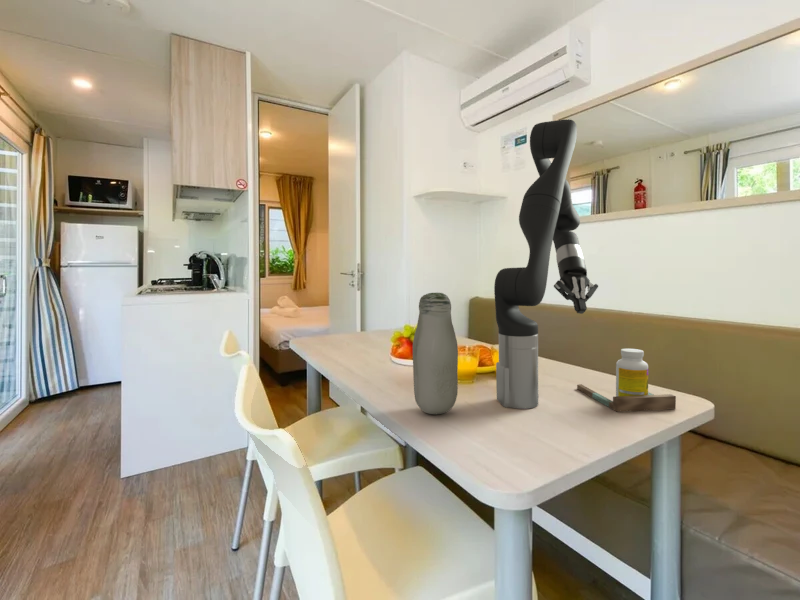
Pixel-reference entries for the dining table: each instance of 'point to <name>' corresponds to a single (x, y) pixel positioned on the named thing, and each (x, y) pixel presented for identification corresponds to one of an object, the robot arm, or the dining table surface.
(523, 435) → the dining table surface
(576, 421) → the dining table surface
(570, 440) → the dining table surface
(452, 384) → the grey bottle
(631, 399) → the frame
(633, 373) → the supplement bottle
